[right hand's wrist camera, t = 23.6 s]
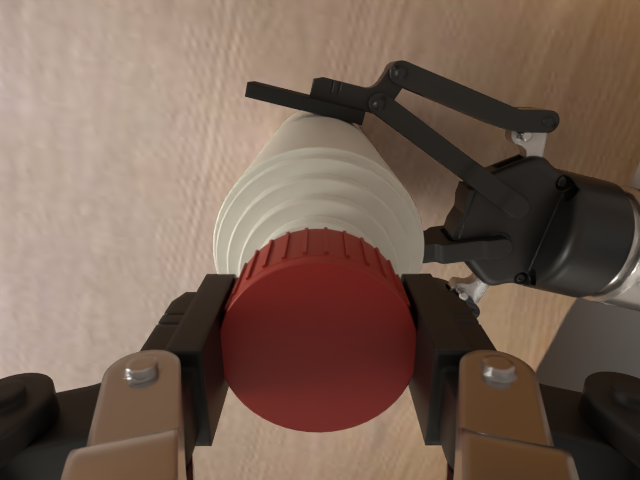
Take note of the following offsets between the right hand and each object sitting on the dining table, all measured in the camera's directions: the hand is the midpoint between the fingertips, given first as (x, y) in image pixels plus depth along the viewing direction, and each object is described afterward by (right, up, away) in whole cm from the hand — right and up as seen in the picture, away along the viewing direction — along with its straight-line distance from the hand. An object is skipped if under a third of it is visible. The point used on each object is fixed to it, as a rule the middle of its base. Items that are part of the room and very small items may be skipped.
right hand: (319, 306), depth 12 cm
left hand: (-5, +7, +15) cm, 17 cm away
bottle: (0, +8, +21) cm, 23 cm away
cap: (0, -1, -2) cm, 2 cm away
